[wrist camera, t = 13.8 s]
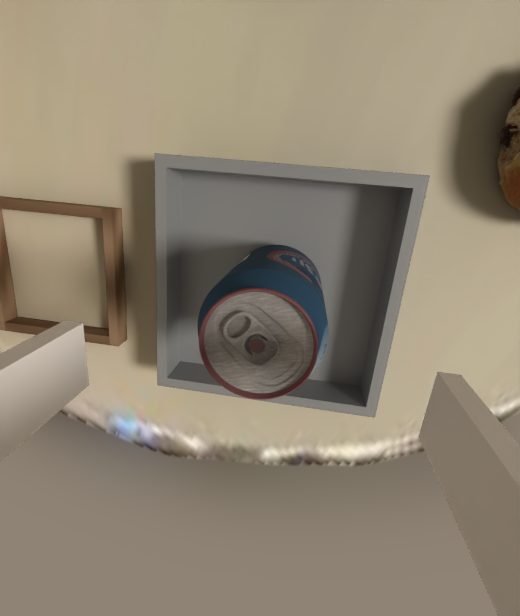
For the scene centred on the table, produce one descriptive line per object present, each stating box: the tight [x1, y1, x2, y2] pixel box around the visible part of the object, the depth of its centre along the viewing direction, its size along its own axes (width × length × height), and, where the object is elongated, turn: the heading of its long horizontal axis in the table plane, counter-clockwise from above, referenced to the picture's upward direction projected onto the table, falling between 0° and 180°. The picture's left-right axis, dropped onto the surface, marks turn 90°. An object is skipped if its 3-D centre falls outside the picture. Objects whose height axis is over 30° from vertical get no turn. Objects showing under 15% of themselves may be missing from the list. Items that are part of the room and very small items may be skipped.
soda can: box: [197, 245, 329, 400], centre depth 22 cm, size 7×7×12 cm
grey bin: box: [155, 153, 430, 418], centre depth 26 cm, size 18×18×4 cm
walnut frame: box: [0, 197, 127, 346], centre depth 29 cm, size 12×12×2 cm
